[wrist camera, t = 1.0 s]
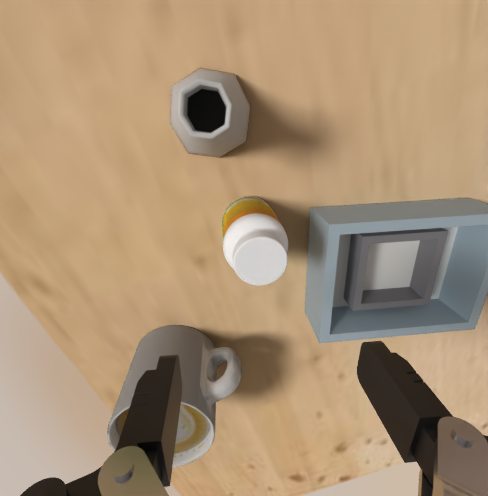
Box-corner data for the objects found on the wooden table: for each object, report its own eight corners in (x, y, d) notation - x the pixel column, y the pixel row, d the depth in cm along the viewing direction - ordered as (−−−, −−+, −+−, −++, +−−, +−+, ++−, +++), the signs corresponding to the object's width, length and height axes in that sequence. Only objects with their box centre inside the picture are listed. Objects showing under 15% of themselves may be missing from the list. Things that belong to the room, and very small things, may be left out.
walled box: (310, 207, 29) (329, 224, 24) (467, 197, 30) (516, 212, 25) (304, 311, 34) (319, 343, 29) (438, 300, 35) (474, 329, 30)
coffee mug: (154, 392, 38) (133, 478, 29) (122, 337, 34) (86, 415, 25) (250, 367, 37) (260, 446, 28) (230, 308, 33) (234, 377, 24)
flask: (256, 149, 26) (276, 162, 17) (181, 164, 27) (161, 186, 17) (242, 59, 24) (257, 18, 14) (158, 77, 24) (119, 46, 14)
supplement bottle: (212, 210, 28) (209, 249, 20) (260, 185, 28) (279, 213, 19) (237, 252, 31) (244, 305, 22) (282, 230, 30) (308, 275, 21)
